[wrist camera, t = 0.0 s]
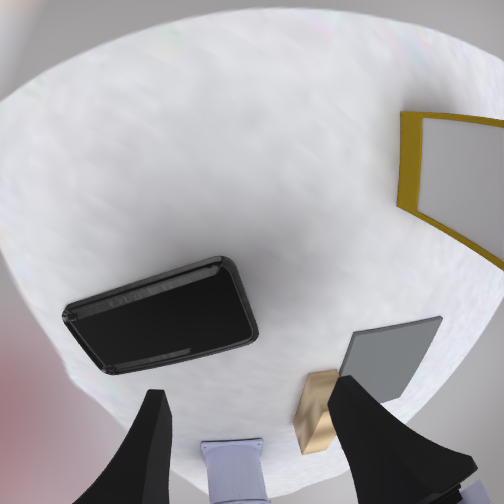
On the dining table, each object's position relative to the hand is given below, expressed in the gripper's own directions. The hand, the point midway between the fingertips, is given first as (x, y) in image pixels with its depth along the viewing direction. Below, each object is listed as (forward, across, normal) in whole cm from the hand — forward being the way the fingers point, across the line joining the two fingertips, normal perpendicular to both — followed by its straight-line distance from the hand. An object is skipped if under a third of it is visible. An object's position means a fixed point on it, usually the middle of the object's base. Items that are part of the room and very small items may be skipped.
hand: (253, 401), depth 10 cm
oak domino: (+10, -9, +16) cm, 21 cm away
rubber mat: (+10, -17, +13) cm, 24 cm away
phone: (+11, +6, +4) cm, 13 cm away
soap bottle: (+10, -18, -10) cm, 23 cm away
